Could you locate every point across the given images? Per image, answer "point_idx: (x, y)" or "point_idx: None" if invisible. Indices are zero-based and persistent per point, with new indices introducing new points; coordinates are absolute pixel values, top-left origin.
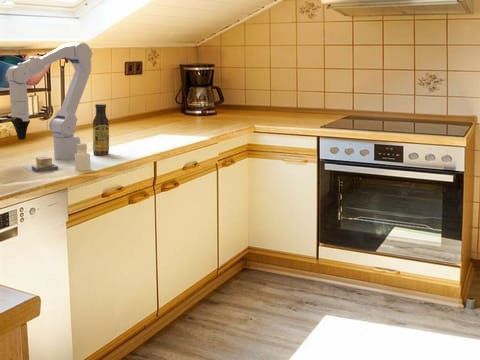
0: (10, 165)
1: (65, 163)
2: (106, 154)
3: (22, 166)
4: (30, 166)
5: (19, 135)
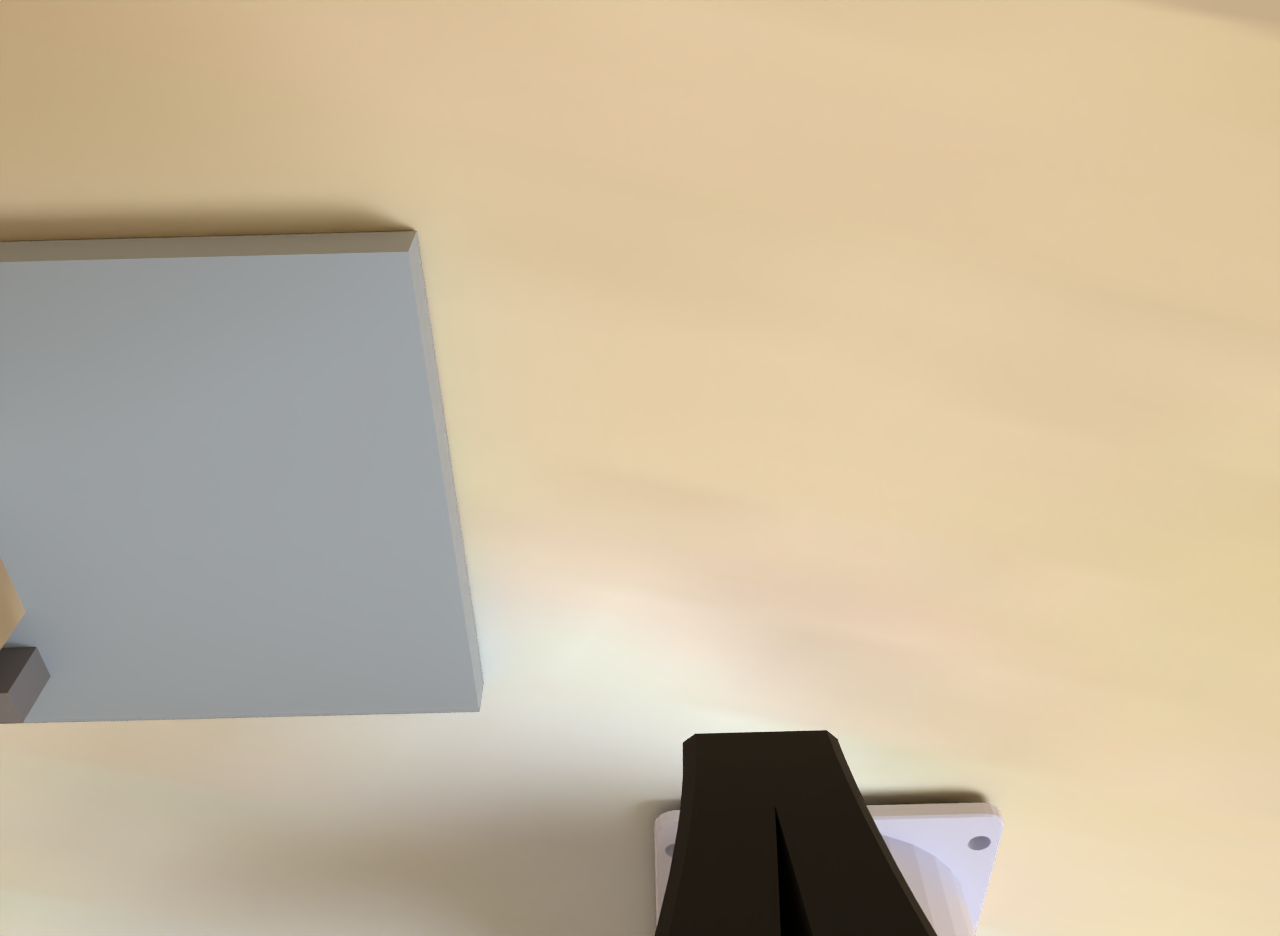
0: (879, 92)
1: (512, 852)
2: None
3: (312, 256)
4: (250, 392)
5: (671, 898)
